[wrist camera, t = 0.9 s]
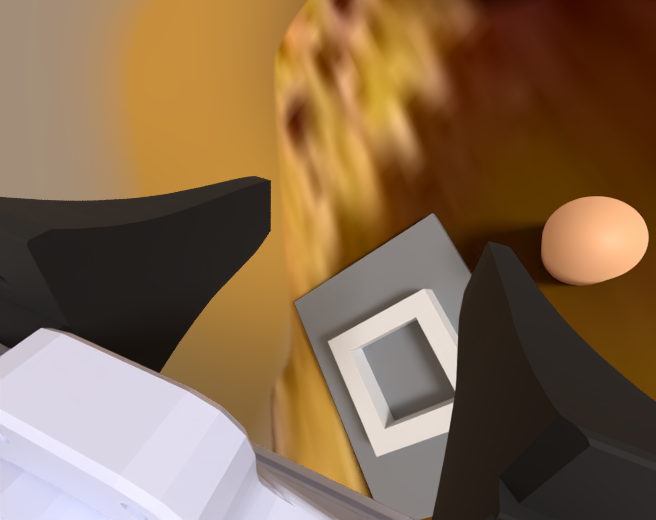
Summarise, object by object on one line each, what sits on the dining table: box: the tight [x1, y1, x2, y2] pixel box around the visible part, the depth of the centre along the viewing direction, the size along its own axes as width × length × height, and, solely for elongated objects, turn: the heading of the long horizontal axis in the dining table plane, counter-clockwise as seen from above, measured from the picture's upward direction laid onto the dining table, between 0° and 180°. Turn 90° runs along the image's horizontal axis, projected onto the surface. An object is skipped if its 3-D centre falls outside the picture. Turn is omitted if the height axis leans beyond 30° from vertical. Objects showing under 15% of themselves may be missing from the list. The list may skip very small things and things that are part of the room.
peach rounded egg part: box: [541, 196, 648, 286], centre depth 19 cm, size 4×4×6 cm
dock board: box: [294, 213, 472, 520], centre depth 25 cm, size 18×14×3 cm
